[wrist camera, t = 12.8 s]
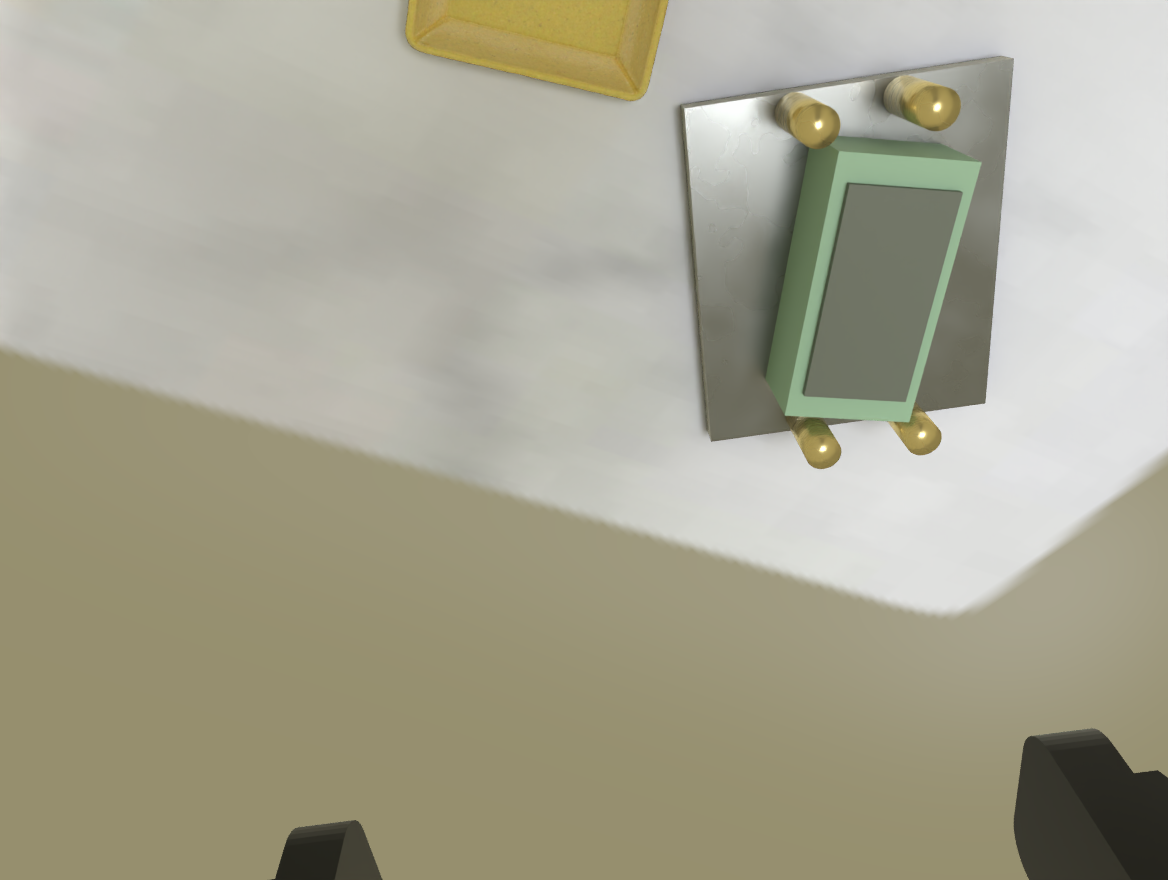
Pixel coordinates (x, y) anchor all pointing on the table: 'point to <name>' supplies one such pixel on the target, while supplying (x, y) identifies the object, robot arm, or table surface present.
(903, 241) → the green rectangular block
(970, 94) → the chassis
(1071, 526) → the table surface
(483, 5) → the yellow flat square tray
